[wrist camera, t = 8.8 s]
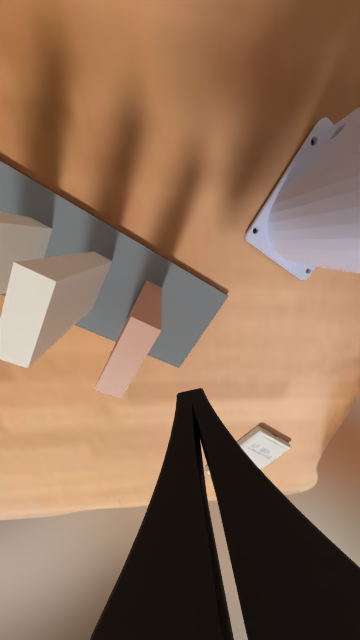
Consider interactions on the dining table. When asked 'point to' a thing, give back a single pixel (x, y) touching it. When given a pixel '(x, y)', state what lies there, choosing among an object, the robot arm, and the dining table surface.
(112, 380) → the domino
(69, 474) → the dining table surface
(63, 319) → the domino
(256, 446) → the external hard drive
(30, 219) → the domino
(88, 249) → the mat
